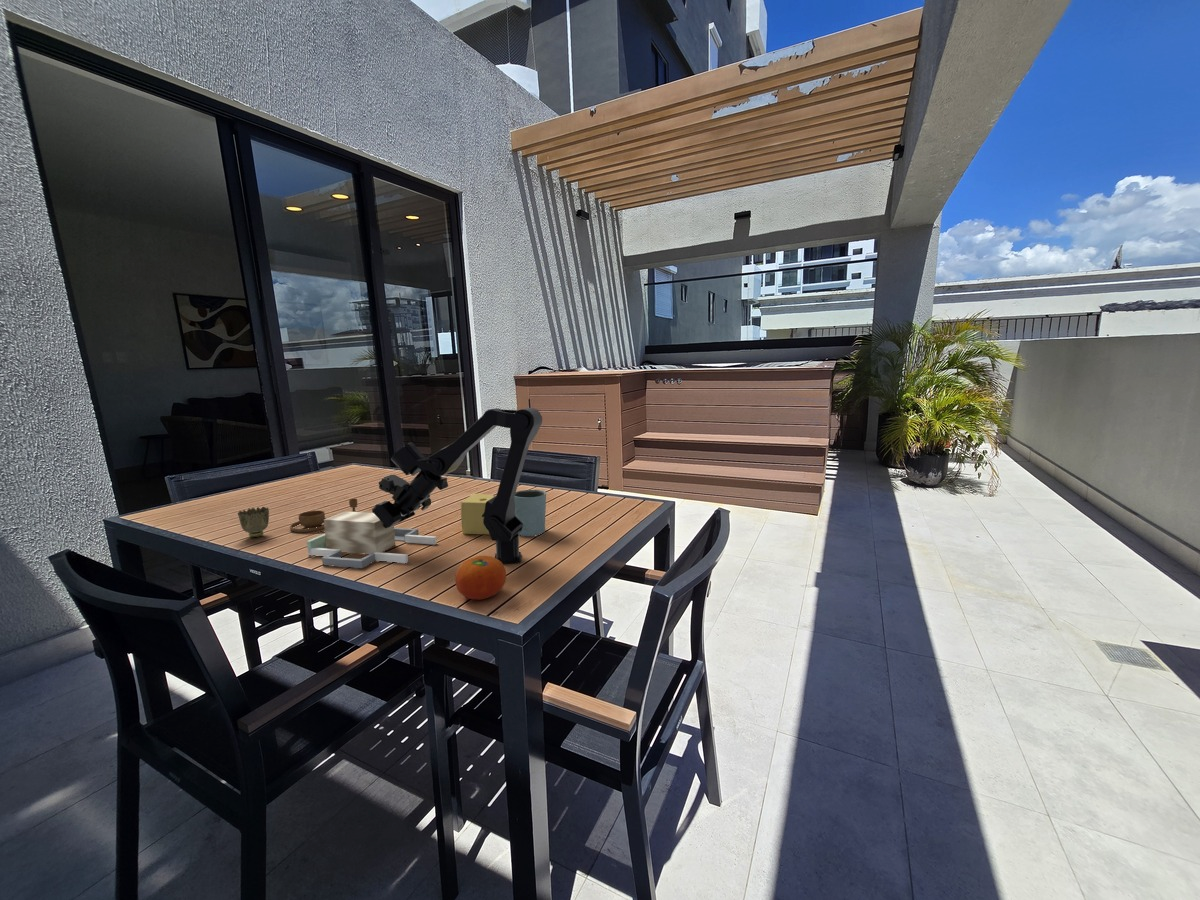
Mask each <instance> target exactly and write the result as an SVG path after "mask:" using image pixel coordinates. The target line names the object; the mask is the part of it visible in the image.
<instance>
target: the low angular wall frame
mask: <svg viewBox="0 0 1200 900" xmlns="http://www.w3.org/2000/svg"><path fill="white" fill-rule="evenodd" d="M394 534H395V542H404V543H405V544H406V543H408V544H417V545H418V544H422V545H437V536H431V535H419V528H405V527H404V528H403V527H394ZM306 544H307V545H306V546H307V556H308V555H318V556H325V557H321V563H322V564H321V565H323V564H324V565H334V566H341V567H340V568H346V567H354V568H353V569H358V568H363V567H365V566H366V565H368V564H370V563H371V562H373V561H375V560H377V561H375V562H379V561H387V562H386V563H392V562H397V563H396V564H405V563H406V564H407V563H409V556H408V554H405V553H393V552H392V553H391V552H382V553H380V552H375V553H371V554H369V555H366V556H364V557H362V558H350V557H349V558H348V557H342V554H343V553H341V550H340V549H326V538H325V533H322V534H320V535H318V536H316V537H314V538H311V539H309V540H307V541H306ZM341 557H342V558H341ZM373 563H374V562H373ZM371 564H372V563H371ZM371 564H370V565H371ZM368 566H369V565H368ZM366 567H367V566H366ZM366 567H365V568H366ZM363 569H364V568H363Z"/></svg>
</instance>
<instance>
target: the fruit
mask: <svg viewBox="0 0 1200 900" xmlns="http://www.w3.org/2000/svg"><path fill="white" fill-rule="evenodd" d="M506 580H507V571H506V567H505V566H504V563H503V564H502V562H501V561H499V560H498V559H496V558H495V556H491V555H478V556H474V557H471V558H468V559H466V560H465V561H463V562H462V563H461V564H460V565H459V566H458V569H457V570H456V573H455V577H454V582H455V586H456V590H457V591H458V592H459V594H461V595H462V596H463V597H465V598H467V599H468V600H470V599H471V600H485V599H488V598H491V597H493V596H495V595H496V594H498V593H499V592H500V591H501V590H502V589H503V587H504V586H505V583H506Z"/></svg>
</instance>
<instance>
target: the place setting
mask: <svg viewBox="0 0 1200 900" xmlns="http://www.w3.org/2000/svg"><path fill="white" fill-rule="evenodd" d="M348 504H349V507H350V508H352V511H351V512H357V511H356V508H358V498H351V499H349V500H348ZM327 518H328V517H326V515H325V511H324V510H310V511H304V512H301V513H299V514H298V521H296V522H294V523H292V524H290V525H289V530H291V531H292V532H293V531H295V532H294V533H297V532H308V533H314V534H323V533H322V532H320V531H318V530H321V531H325V527H324V525H323V524H324V519H327ZM299 524H301V526H302V527H305V528H293V527H295V526H297V525H299ZM321 525H322V526H321ZM316 527H317V528H316ZM307 528H309V529H307ZM323 529H324V530H323ZM313 531H316V532H313ZM318 532H319V533H318Z"/></svg>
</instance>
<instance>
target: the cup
mask: <svg viewBox="0 0 1200 900" xmlns="http://www.w3.org/2000/svg"><path fill="white" fill-rule="evenodd" d="M237 516H238V519H239V523H240V527H241V529H242V530H243V531H244V532H246V533H248V537H249V538H250V537H252V539H254V538H253V537H258V538H260V537H259V536H261V537H262V535H263V536H264V535H265V534H264V533H265V532H264V530H266V529H267V527H268V525H269V521H270V519H269V517H270V509H269V507H265V506H262V507H261V508H260V507H259V506H258V507H257V508H255V507H251V508H248V509H247V510H245V509H243V511H242V510H239V511H238V512H237Z"/></svg>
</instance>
